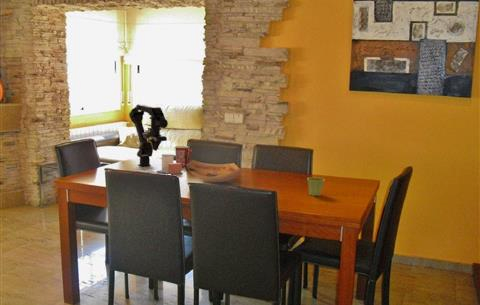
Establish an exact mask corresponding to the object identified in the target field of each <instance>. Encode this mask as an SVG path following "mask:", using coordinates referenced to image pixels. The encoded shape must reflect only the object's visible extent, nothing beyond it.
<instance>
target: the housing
mask: <svg viewBox="0 0 480 305" xmlns="http://www.w3.org/2000/svg"><path fill="white" fill-rule="evenodd" d="M156 173H159V174H161V173H162V175H165V174H171V175H172V176H178V175H183V174H184V173H183V172H182V167H181V163H176V162H173V163H172V164H169V168H166V167H162V166H161V170H157V171H156Z"/></svg>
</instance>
